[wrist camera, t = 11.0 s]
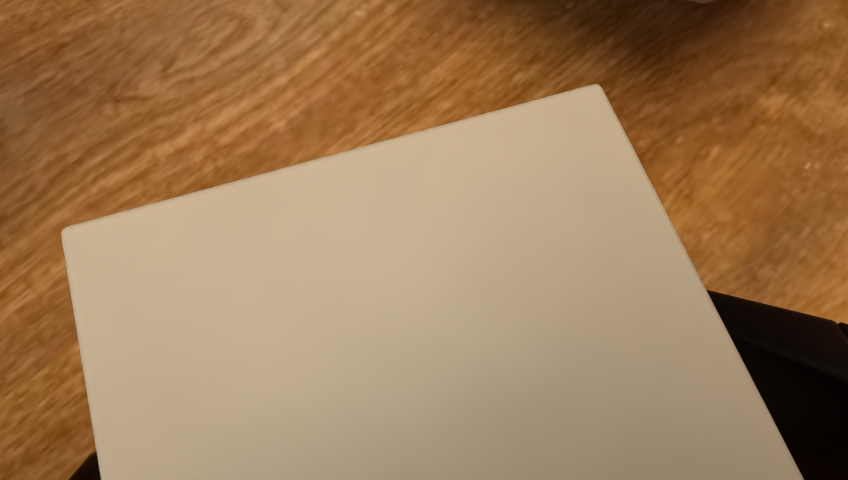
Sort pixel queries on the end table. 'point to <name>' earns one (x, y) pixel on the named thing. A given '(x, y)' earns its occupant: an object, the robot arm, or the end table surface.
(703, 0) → the bowl
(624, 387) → the plate
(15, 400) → the end table surface
